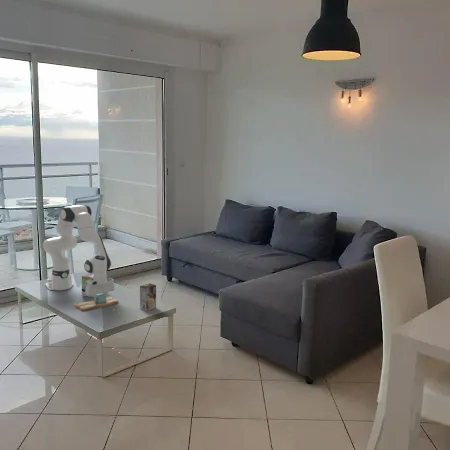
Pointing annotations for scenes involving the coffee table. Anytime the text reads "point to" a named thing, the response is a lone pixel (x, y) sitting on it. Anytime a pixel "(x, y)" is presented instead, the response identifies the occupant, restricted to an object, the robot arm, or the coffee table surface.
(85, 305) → the board
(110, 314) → the coffee table surface
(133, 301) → the coffee table surface
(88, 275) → the tea box
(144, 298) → the coffee box
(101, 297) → the block
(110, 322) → the coffee table surface
